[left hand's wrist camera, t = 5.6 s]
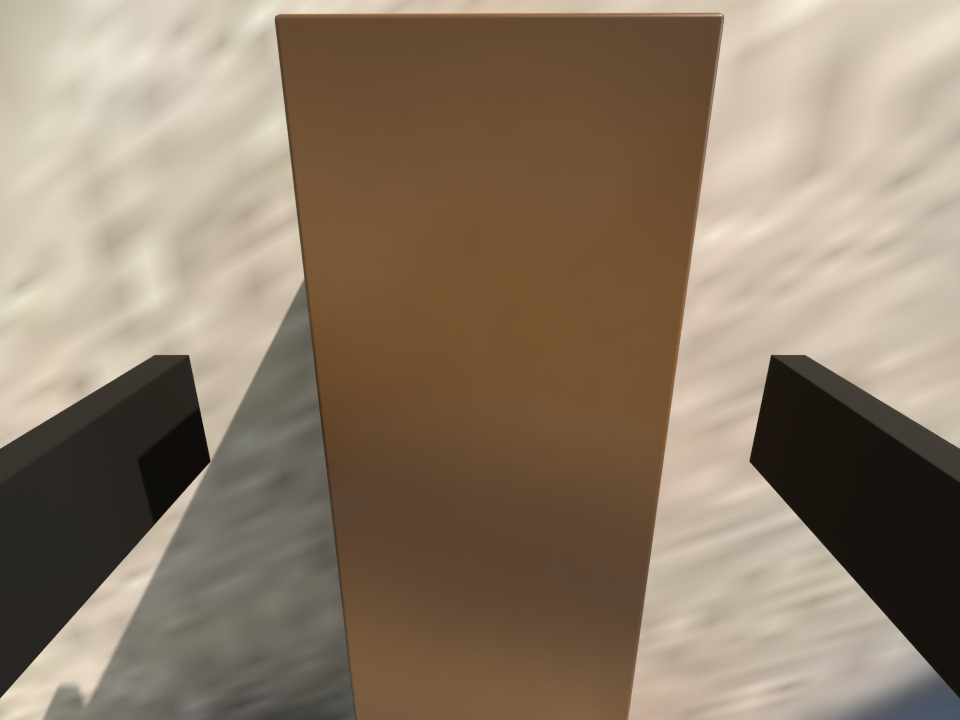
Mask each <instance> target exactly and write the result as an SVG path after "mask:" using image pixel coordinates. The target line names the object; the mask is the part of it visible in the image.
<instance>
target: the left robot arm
mask: <svg viewBox="0 0 960 720" xmlns="http://www.w3.org/2000/svg"><path fill="white" fill-rule="evenodd" d="M209 463H210V456H209V451H208V447H207V442H206V437H205V432H204V427H203V422H202V417H201V412H200V407H199V403H198V398H197V393H196V388H195V383H194V378H193V373H192V368H191V364H190V359H189V355H154V356H153V357H151V358H149V359H148V360H146V361H144V362H143V363H141V364H139V365H138V366H136V367H134V368H133V369H131V370H129V371H128V372H126V373H125V374H123V375H121V376H120V377H118V378H116V379H115V380H113V381H111V382H110V383H108V384H106V385H105V386H103V387H101V388H100V389H98V390H96V391H95V392H93V393H92V394H90V395H88V396H87V397H85V398H83V399H82V400H80V401H78V402H77V403H75V404H73V405H72V406H70V407H68V408H67V409H65V410H63V411H62V412H60V413H59V414H57V415H55V416H54V417H52V418H50V419H49V420H47V421H45V422H44V423H42V424H40V425H39V426H37V427H35V428H34V429H32V430H30V431H29V432H27V433H26V434H24V435H22V436H21V437H19V438H17V439H16V440H14V441H12V442H11V443H9V444H7V445H6V446H4V447H2V448H1V449H0V698H1V697H2V696H3V695H4V693H5V692H6V691H7V690H8V689H9V688H10V687H11V686H12V684H13V683H14V682H15V681H16V680H17V679H18V678H19V677H20V675H21V674H22V673H23V672H24V671H25V670H26V669H27V668H28V666H29V665H30V664H31V663H32V662H33V661H34V660H35V659H36V657H37V656H38V655H39V654H40V653H41V652H42V651H43V650H44V648H45V647H46V646H47V645H48V644H49V643H50V642H51V641H52V639H53V638H54V637H55V636H56V635H57V634H58V633H59V632H60V630H61V629H62V628H63V627H64V626H65V625H66V624H67V622H68V621H69V620H70V619H71V618H72V617H73V616H74V615H75V613H76V612H77V611H78V610H79V609H80V608H81V607H82V606H83V604H84V603H85V602H86V601H87V600H88V599H89V598H90V597H91V595H92V594H93V593H94V592H95V591H96V590H97V589H98V588H99V586H100V585H101V584H102V583H103V582H104V581H105V580H106V579H107V577H108V576H109V575H110V574H111V573H112V572H113V571H114V570H115V568H116V567H117V566H118V565H119V564H120V563H121V562H122V561H123V559H124V558H125V557H126V556H127V555H128V554H129V553H130V552H131V550H132V549H133V548H134V547H135V546H136V545H137V544H138V543H139V541H140V540H141V539H142V538H143V537H144V536H145V535H146V534H147V532H148V531H149V530H150V529H151V528H152V527H153V526H154V525H155V523H156V522H157V521H158V520H159V519H160V518H161V517H162V516H163V514H164V513H165V512H166V511H167V510H168V509H169V508H170V507H171V505H172V504H173V503H174V502H175V501H176V500H177V499H178V498H179V496H180V495H181V494H182V493H183V492H184V491H185V490H186V488H187V487H188V486H189V485H190V484H191V483H192V482H193V481H194V479H195V478H196V477H197V476H198V475H199V474H200V473H201V472H202V470H203V469H204V468H205V467H206V466H207V465H208V464H209ZM750 463H751V464H752V465H753V466H754V467H755V468H756V469H757V470H758V472H759V473H760V474H761V475H762V476H763V477H764V478H765V479H766V481H767V482H768V483H769V484H770V485H771V486H772V487H773V489H774V490H775V491H776V492H777V493H778V494H779V495H780V496H781V498H782V499H783V500H784V501H785V502H786V503H787V504H788V505H789V507H790V508H791V509H792V510H793V511H794V512H795V513H796V514H797V516H798V517H799V518H800V519H801V520H802V521H803V522H804V523H805V525H806V526H807V527H808V528H809V529H810V530H811V531H812V532H813V534H814V535H815V536H816V537H817V538H818V539H819V540H820V541H821V543H822V544H823V545H824V546H825V547H826V548H827V549H828V550H829V552H830V553H831V554H832V555H833V556H834V557H835V558H836V559H837V561H838V562H839V563H840V564H841V565H842V566H843V567H844V568H845V570H846V571H847V572H848V573H849V574H850V575H851V576H852V577H853V579H854V580H855V581H856V582H857V583H858V584H859V585H860V586H861V588H862V589H863V590H864V591H865V592H866V593H867V594H868V595H869V597H870V598H871V599H872V600H873V601H874V602H875V603H876V604H877V606H878V607H879V608H880V609H881V610H882V611H883V612H884V613H885V615H886V616H887V617H888V618H889V619H890V620H891V621H892V622H893V624H894V625H895V626H896V627H897V628H898V629H899V630H900V632H901V633H902V634H903V635H904V636H905V637H906V638H907V639H908V641H909V642H910V643H911V644H912V645H913V646H914V647H915V648H916V650H917V651H918V652H919V653H920V654H921V655H922V656H923V657H924V659H925V660H926V661H927V662H928V663H929V664H930V665H931V666H932V668H933V669H934V670H935V671H936V672H937V673H938V674H939V675H940V677H941V678H942V679H943V680H944V681H945V682H946V683H947V684H948V686H949V687H950V688H951V689H952V690H953V691H954V692H955V693H956V695H957V696H958V697H959V698H960V449H959V448H958V447H956V446H954V445H953V444H951V443H949V442H948V441H946V440H944V439H943V438H941V437H939V436H938V435H936V434H934V433H933V432H931V431H930V430H928V429H926V428H925V427H923V426H921V425H920V424H918V423H916V422H915V421H913V420H911V419H910V418H908V417H906V416H905V415H903V414H901V413H900V412H898V411H897V410H895V409H893V408H892V407H890V406H888V405H887V404H885V403H883V402H882V401H880V400H878V399H877V398H875V397H873V396H872V395H870V394H868V393H867V392H865V391H864V390H862V389H860V388H859V387H857V386H855V385H854V384H852V383H850V382H849V381H847V380H845V379H844V378H842V377H840V376H839V375H837V374H835V373H834V372H832V371H831V370H829V369H827V368H826V367H824V366H822V365H821V364H819V363H817V362H816V361H814V360H812V359H811V358H809V357H807V356H806V355H771V359H770V363H769V368H768V373H767V378H766V383H765V388H764V393H763V398H762V403H761V407H760V412H759V417H758V422H757V427H756V432H755V437H754V442H753V447H752V451H751V456H750Z"/></svg>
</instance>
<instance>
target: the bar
mask: <svg viewBox="0 0 960 720" xmlns="http://www.w3.org/2000/svg"><path fill="white" fill-rule="evenodd" d="M723 23H724V15H723V14H721V13H484V14H279V15H277V16H276V17H275V26H276V35H277V44H278V52H279V61H280V70H281V78H282V87H283V96H284V104H285V113H286V122H287V130H288V139H289V148H290V156H291V165H292V174H293V182H294V191H295V200H296V208H297V217H298V226H299V234H300V243H301V252H302V260H303V269H304V278H305V286H306V295H307V304H308V312H309V321H310V330H311V338H312V347H313V356H314V364H315V373H316V382H317V390H318V399H319V408H320V416H321V425H322V434H323V442H324V451H325V460H326V468H327V477H328V486H329V494H330V503H331V512H332V520H333V529H334V538H335V546H336V555H337V564H338V572H339V581H340V590H341V598H342V607H343V616H344V624H345V633H346V642H347V650H348V659H349V668H350V676H351V685H352V694H353V702H354V711H355V720H628V716H629V708H630V701H631V694H632V686H633V679H634V672H635V665H636V657H637V650H638V643H639V635H640V628H641V621H642V613H643V606H644V599H645V592H646V584H647V577H648V570H649V562H650V555H651V548H652V541H653V533H654V526H655V519H656V511H657V504H658V497H659V489H660V482H661V475H662V468H663V460H664V453H665V446H666V438H667V431H668V424H669V417H670V409H671V402H672V395H673V387H674V380H675V373H676V365H677V358H678V351H679V344H680V336H681V329H682V322H683V314H684V307H685V300H686V293H687V285H688V278H689V271H690V263H691V256H692V249H693V241H694V234H695V227H696V220H697V212H698V205H699V198H700V190H701V183H702V176H703V169H704V161H705V154H706V147H707V139H708V132H709V125H710V117H711V110H712V103H713V96H714V88H715V81H716V74H717V66H718V59H719V52H720V45H721V37H722V30H723Z"/></svg>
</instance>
